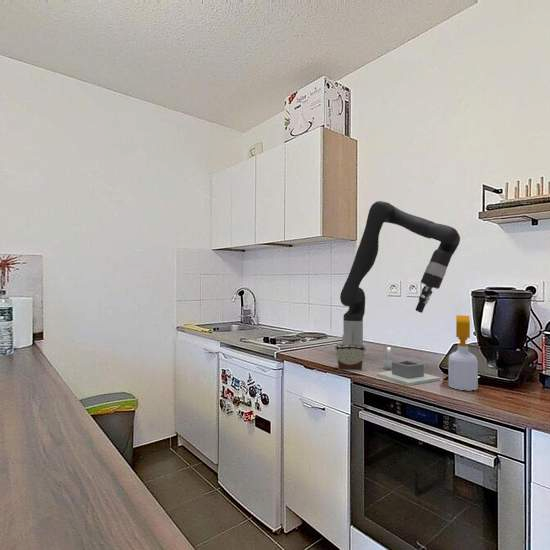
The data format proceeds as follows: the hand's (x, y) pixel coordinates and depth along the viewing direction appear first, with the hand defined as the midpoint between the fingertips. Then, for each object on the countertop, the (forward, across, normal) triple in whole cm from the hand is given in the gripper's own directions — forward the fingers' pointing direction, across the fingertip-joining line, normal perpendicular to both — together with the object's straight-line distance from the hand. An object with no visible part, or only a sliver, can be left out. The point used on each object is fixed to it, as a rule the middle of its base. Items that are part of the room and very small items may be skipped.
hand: (418, 311), depth 158 cm
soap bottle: (+19, +18, +24) cm, 35 cm away
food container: (+33, +6, -16) cm, 37 cm away
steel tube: (+27, +1, -2) cm, 27 cm away
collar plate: (+25, +12, +6) cm, 28 cm away
